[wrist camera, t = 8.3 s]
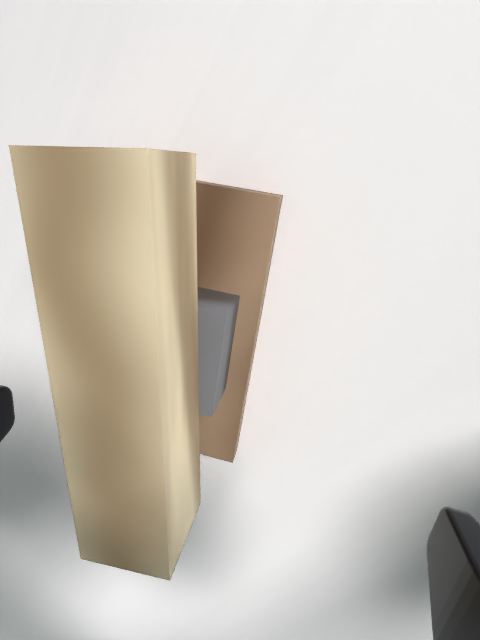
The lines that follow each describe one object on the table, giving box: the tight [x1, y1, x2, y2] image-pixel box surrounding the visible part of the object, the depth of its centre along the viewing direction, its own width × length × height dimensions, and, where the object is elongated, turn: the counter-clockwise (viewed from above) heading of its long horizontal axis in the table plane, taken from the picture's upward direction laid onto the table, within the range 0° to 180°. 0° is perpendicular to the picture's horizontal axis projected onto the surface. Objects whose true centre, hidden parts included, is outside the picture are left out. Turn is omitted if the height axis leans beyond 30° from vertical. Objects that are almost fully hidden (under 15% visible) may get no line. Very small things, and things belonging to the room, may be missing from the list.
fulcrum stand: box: [196, 180, 283, 463], centre depth 19 cm, size 8×14×4 cm, turn 172°
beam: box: [9, 145, 200, 580], centre depth 15 cm, size 4×16×4 cm, turn 178°
